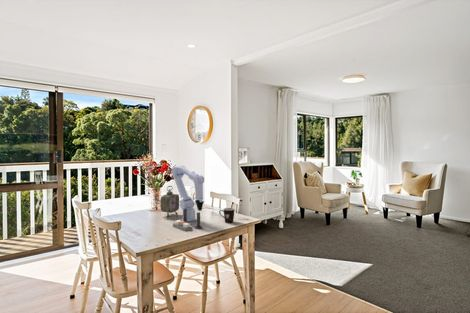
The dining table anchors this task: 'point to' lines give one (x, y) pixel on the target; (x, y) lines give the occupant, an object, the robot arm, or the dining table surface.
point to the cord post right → (198, 221)
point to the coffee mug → (228, 214)
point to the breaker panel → (182, 226)
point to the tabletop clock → (169, 202)
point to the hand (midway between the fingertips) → (199, 210)
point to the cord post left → (185, 215)
